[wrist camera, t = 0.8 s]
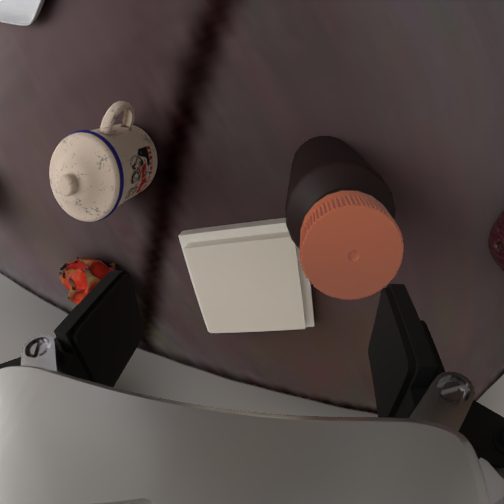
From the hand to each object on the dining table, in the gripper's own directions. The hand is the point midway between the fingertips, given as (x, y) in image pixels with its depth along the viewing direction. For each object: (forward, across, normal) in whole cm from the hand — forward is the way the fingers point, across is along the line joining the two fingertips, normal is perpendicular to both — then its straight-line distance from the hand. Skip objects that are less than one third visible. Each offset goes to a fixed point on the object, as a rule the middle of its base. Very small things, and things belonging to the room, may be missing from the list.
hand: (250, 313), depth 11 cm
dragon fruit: (+24, +25, +14) cm, 37 cm away
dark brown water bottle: (+24, -4, 0) cm, 24 cm away
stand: (+24, +4, +13) cm, 27 cm away
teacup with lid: (+24, +18, -3) cm, 30 cm away
